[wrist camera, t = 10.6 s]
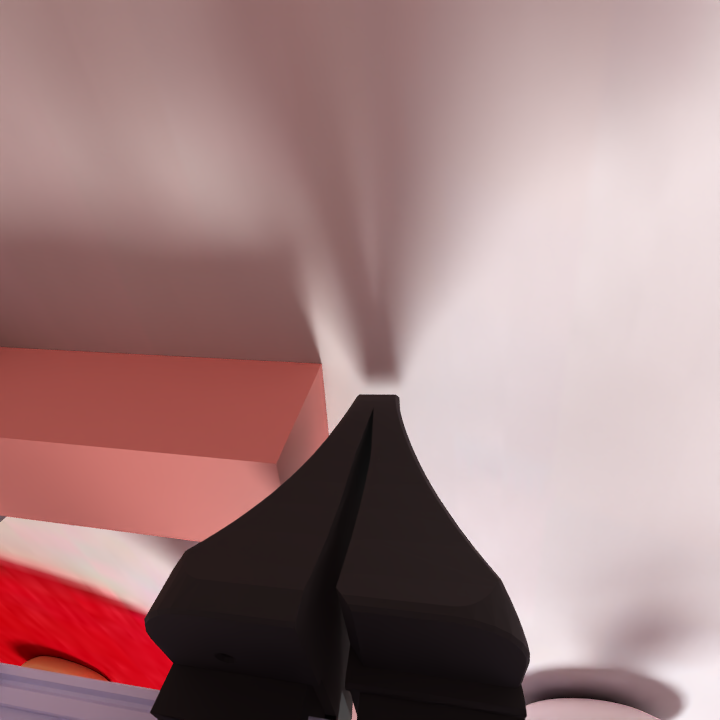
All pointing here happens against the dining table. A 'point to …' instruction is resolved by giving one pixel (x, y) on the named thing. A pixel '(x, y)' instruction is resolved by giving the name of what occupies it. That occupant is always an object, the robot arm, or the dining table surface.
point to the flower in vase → (583, 710)
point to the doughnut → (62, 667)
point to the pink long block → (151, 437)
